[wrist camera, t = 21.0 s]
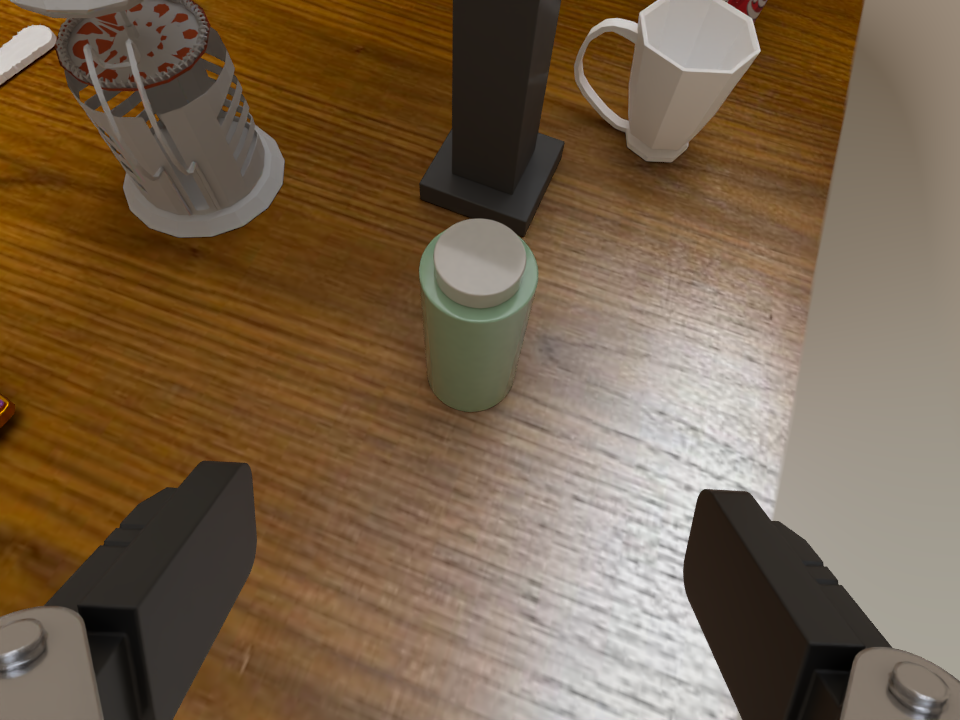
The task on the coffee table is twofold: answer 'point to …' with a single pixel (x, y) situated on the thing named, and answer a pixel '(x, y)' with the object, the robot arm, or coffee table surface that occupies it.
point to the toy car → (5, 409)
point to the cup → (675, 71)
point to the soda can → (748, 7)
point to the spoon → (24, 49)
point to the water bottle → (475, 311)
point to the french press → (168, 112)
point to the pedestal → (497, 113)
